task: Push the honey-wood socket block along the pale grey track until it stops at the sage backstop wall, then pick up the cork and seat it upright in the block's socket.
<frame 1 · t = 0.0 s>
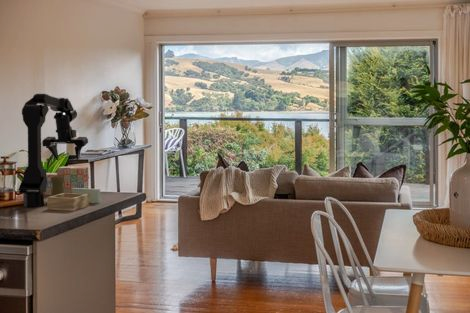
hand: (67, 160, 251), 15 cm above the countertop, tool pointing down, fingers open, 9 cm apart
stack of blocks: (63, 194, 254), on the countertop
socket block: (68, 201, 215), point 3 cm above the countertop, slide at 0.0 cm
track and backstop: (68, 209, 215), on the countertop
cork: (58, 203, 231), on the countertop
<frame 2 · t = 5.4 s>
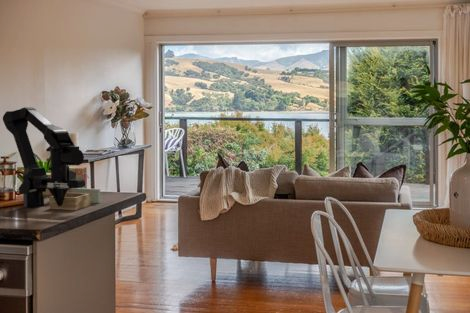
hand: (59, 205, 209), 2 cm above the countertop, tool pointing down, fingers closed, pressing on socket block
socket block: (70, 201, 216), point 3 cm above the countertop, slide at 1.3 cm, touching gripper
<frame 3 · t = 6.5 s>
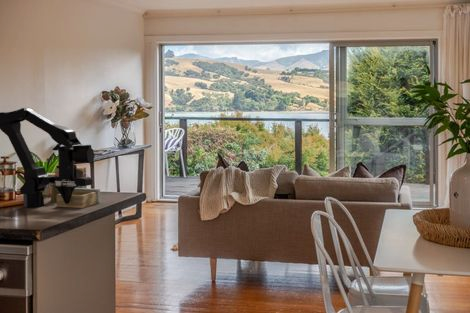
hand: (67, 203, 214), 2 cm above the countertop, tool pointing down, fingers closed, pressing on socket block
socket block: (77, 199, 221), point 3 cm above the countertop, slide at 6.1 cm, touching gripper
everything else where it was.
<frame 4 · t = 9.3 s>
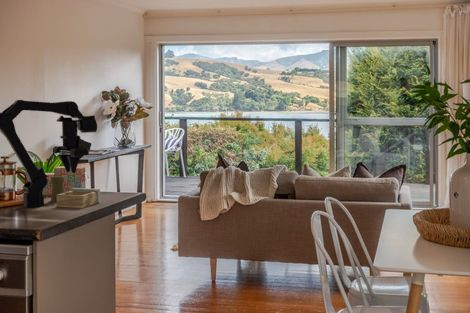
hand: (71, 172, 224), 13 cm above the countertop, tool pointing down, fingers open, 4 cm apart
socket block: (77, 199, 221), point 3 cm above the countertop, slide at 6.0 cm
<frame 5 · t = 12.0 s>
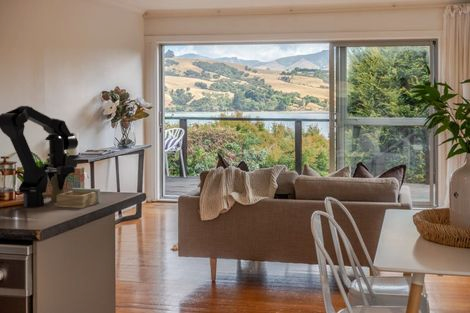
hand: (57, 189, 231), 6 cm above the countertop, tool pointing down, fingers closed on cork, 5 cm apart
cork: (58, 203, 231), on the countertop, touching gripper
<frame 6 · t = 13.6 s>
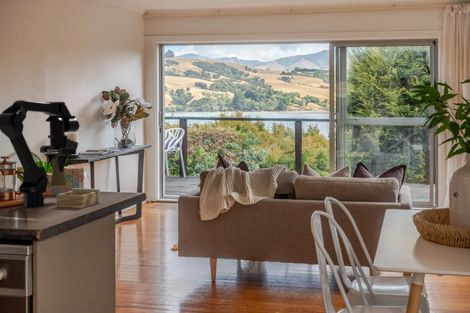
hand: (58, 171, 230), 13 cm above the countertop, tool pointing down, fingers closed on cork, 5 cm apart
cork: (58, 185, 230), point 7 cm above the countertop, touching gripper
when the fingers open (9 cm above the countertop, at t = 15.7 s): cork drops 1 cm, resting on socket block.
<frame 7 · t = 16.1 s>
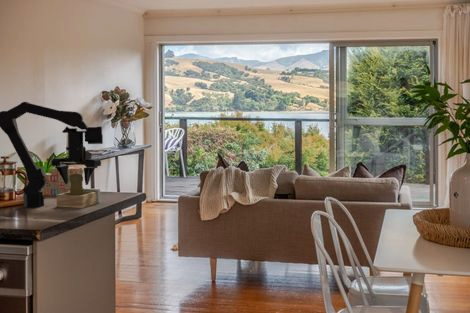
hand: (76, 184, 220), 9 cm above the countertop, tool pointing down, fingers open, 9 cm apart
socket block: (77, 199, 221), point 3 cm above the countertop, slide at 6.0 cm, touching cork
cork: (76, 202, 221), point 2 cm above the countertop, touching socket block
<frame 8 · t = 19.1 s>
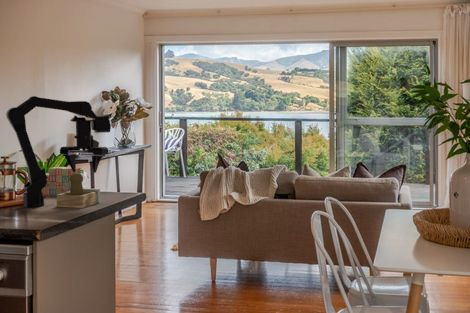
hand: (84, 172, 226), 13 cm above the countertop, tool pointing down, fingers open, 9 cm apart
at the end: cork 0.1 cm from the target spot, point 1.7 cm above the countertop; socket block slide at 6.0 cm; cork tilted 0° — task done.
